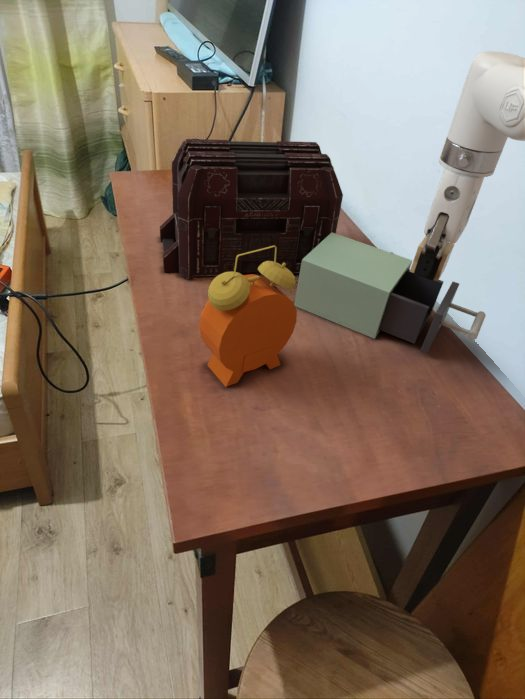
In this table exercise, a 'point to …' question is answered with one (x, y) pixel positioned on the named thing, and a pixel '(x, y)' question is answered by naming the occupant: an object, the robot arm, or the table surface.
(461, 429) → the table surface
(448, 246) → the block
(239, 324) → the alarm clock
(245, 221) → the crate
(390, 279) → the cabinet
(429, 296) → the drawer
